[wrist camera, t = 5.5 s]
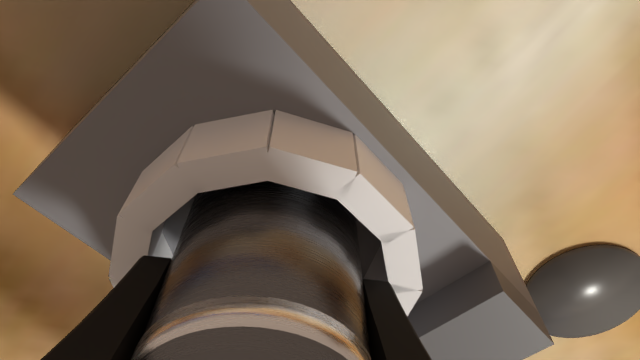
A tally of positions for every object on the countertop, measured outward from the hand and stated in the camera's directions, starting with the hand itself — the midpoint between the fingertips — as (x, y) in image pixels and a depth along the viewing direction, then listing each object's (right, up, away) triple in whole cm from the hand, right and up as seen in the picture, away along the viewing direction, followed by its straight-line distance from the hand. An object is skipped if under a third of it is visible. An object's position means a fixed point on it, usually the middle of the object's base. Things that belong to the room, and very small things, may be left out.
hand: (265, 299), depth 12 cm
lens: (0, +2, +2) cm, 2 cm away
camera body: (+1, +3, +5) cm, 6 cm away
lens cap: (+12, -1, +8) cm, 14 cm away
